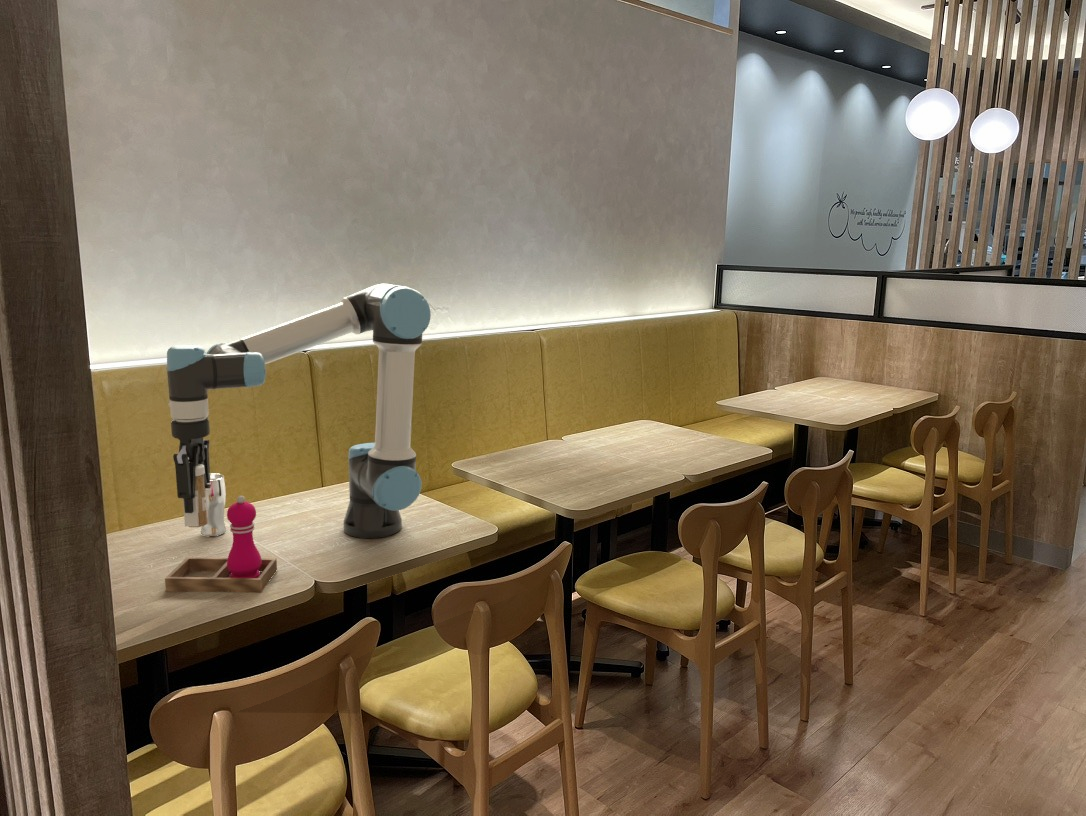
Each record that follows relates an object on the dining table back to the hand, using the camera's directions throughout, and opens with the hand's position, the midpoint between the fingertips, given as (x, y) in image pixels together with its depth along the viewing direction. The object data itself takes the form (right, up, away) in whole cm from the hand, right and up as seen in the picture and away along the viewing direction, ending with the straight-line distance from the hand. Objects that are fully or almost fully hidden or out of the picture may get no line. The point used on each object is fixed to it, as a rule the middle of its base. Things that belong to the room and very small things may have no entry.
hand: (196, 521), depth 178 cm
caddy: (+5, -14, +3) cm, 15 cm away
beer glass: (-9, -8, +31) cm, 33 cm away
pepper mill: (+10, -14, +3) cm, 17 cm away
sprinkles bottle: (0, -1, 0) cm, 1 cm away
